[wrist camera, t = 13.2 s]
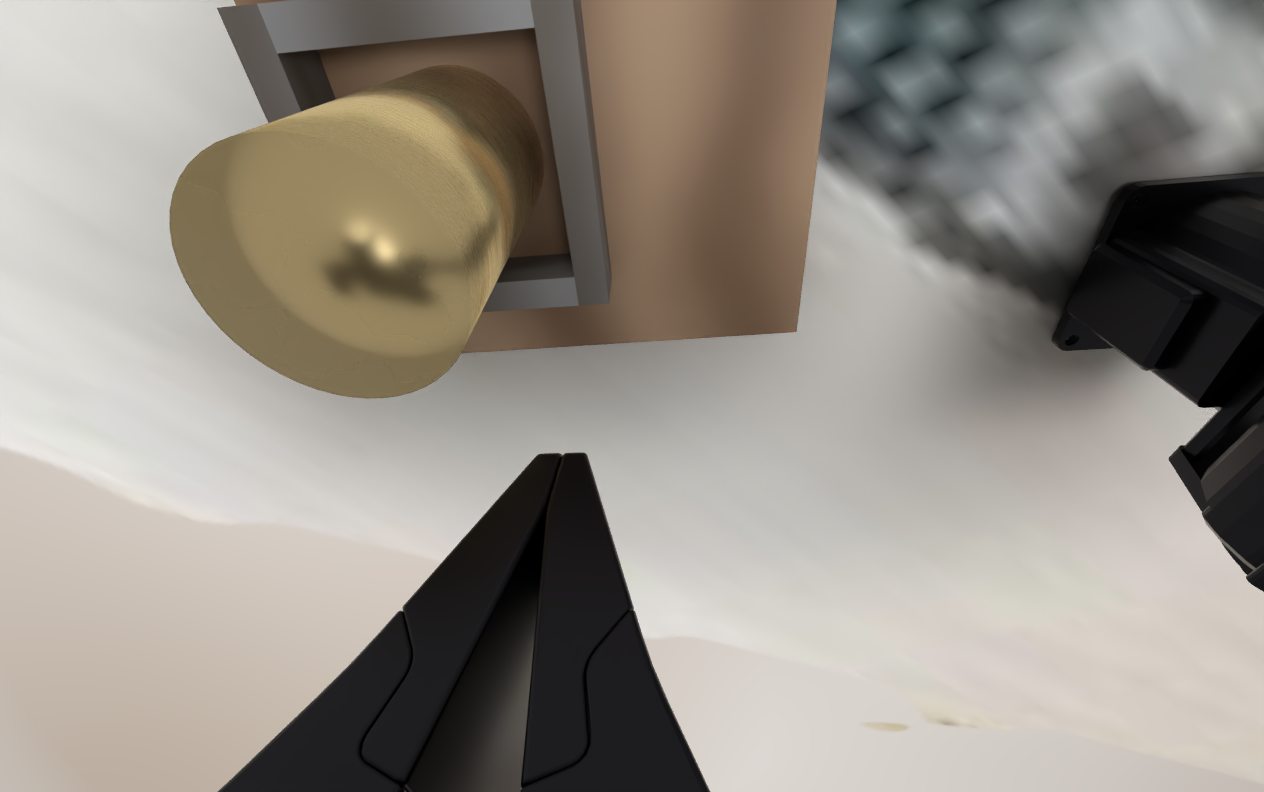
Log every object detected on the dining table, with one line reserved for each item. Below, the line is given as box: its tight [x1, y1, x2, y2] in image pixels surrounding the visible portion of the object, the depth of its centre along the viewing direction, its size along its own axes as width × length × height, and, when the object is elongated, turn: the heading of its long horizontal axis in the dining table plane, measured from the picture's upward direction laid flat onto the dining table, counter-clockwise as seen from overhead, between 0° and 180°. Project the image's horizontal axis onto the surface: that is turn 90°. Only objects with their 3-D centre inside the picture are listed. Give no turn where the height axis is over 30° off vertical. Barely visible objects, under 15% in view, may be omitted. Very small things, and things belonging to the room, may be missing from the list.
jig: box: [217, 0, 837, 353], centre depth 16 cm, size 16×14×4 cm
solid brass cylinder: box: [170, 65, 544, 398], centre depth 13 cm, size 5×5×9 cm
